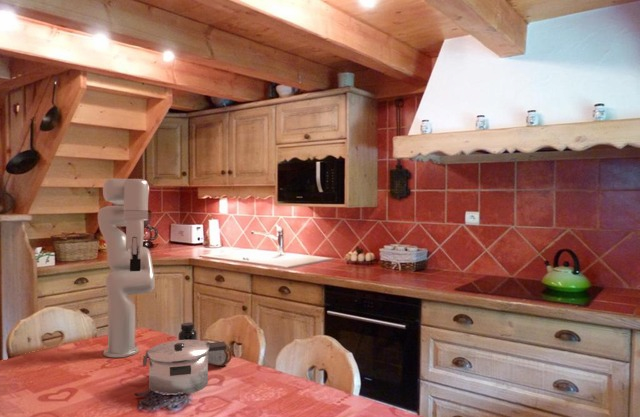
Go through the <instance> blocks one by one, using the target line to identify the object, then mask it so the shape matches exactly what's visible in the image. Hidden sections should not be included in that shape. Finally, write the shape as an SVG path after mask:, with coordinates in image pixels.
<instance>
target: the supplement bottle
mask: <svg viewBox="0 0 640 417" xmlns="http://www.w3.org/2000/svg"><path fill="white" fill-rule="evenodd" d="M177 340H198V332H197V330H196V329H195V323H194V322H188V321H187V322H183V323H181V324H180V331H179V333H178V339H177Z"/></svg>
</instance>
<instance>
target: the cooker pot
mask: <svg viewBox="0 0 640 417" xmlns="http://www.w3.org/2000/svg"><path fill="white" fill-rule="evenodd" d="M142 358H143V359H142V366H143V367H146V366H147V364H148V365H149V367H148V368H149V369H148V370H149V371H148V373H149V374H148V375H149V376H148V380H149V381H148V390H149V391H150V390H151V391H158V392H167V393H178V392H183V393H186V395H190V394H193V393H196V392H199V391H202V390H203V389H204V388H206V386H208V382H209V364H208V354H206V355H205V356H203V357H201V358H198V359H195V360H191V361H186V362H179V363H159V362H154V361H151V360H150V359H149V358H146V357H145V355H144V356H143V357H142ZM148 360H149V361H148ZM148 362H149V363H148ZM151 391H150V392H151Z"/></svg>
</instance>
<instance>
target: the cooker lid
mask: <svg viewBox="0 0 640 417" xmlns="http://www.w3.org/2000/svg"><path fill="white" fill-rule="evenodd" d="M225 343H226V342H225V341H220V342H214V343H207V342H204V341H201V340H199V339H197V340H178V339H177V340H171V341H166V342H161V343H159V344H156V345H154V346H151V348H150V349H148V350H146V351H145V355H144V356H145V357H146V358H147V359H148V360H149V359H150V360H151V361H154V362H159V363H179V362H186V361H191V360H195V359H198V358H201V357H203V356H205V355H206V354H208V353H209V351H218V350H226V344H227V343H226V344H225Z"/></svg>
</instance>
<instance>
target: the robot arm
mask: <svg viewBox="0 0 640 417" xmlns="http://www.w3.org/2000/svg"><path fill="white" fill-rule="evenodd" d="M102 195H103V199H104V200H105V202H107V203H111V204H113V205H107V206H103V207H101V208H100V209H99V211H98V212H97V223H98V227H99V231H100V233H101V235H102V237H103V238H104V241H105V246H106V255H107V264H108V267H109V269H110V270H112V271H111V272H109V273H108V274H107V275H106V279H105V286H106V292H107V293H106V294H107V302H108V303H107V304H108V306H107V307H108V308H107V320H108V322H107V326H108V328H107V329H108V330H107V332H108V333H107V348H105V349H104V350H103V356H105V357H107V358H124V357H130V356H134V355H136V354H137V353H138V352H139V351H140V348H139V346H138V345H136V305H135V303H134V302H133V300H132V299H131V298H130V297H129V296H133V295H142V294H149V293H151V292H153V291H154V290H155V287H156V279H155V272H154V271H155V270H154V264H153V260H152V259H153V258H152V256H151V255H152V253H151V251H150V250H149V248H148V247H146V246H144V234H145V232H144V231H145V221H149V195H150V185H149V183H148V180H146V179H143V178H108V179H106V180H105V182H104V183H103V186H102ZM119 227H126V228H125V232H123V231H122V230H121V229H120V228H119Z"/></svg>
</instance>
